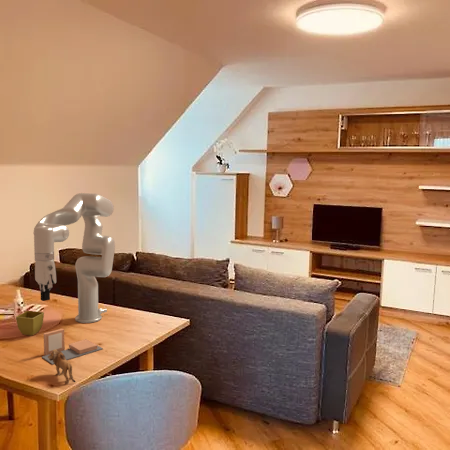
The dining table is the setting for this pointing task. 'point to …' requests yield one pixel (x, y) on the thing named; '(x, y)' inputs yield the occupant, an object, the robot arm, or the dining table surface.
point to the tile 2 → (83, 346)
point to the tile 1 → (53, 341)
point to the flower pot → (30, 322)
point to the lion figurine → (61, 364)
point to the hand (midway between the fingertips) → (45, 300)
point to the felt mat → (71, 354)
